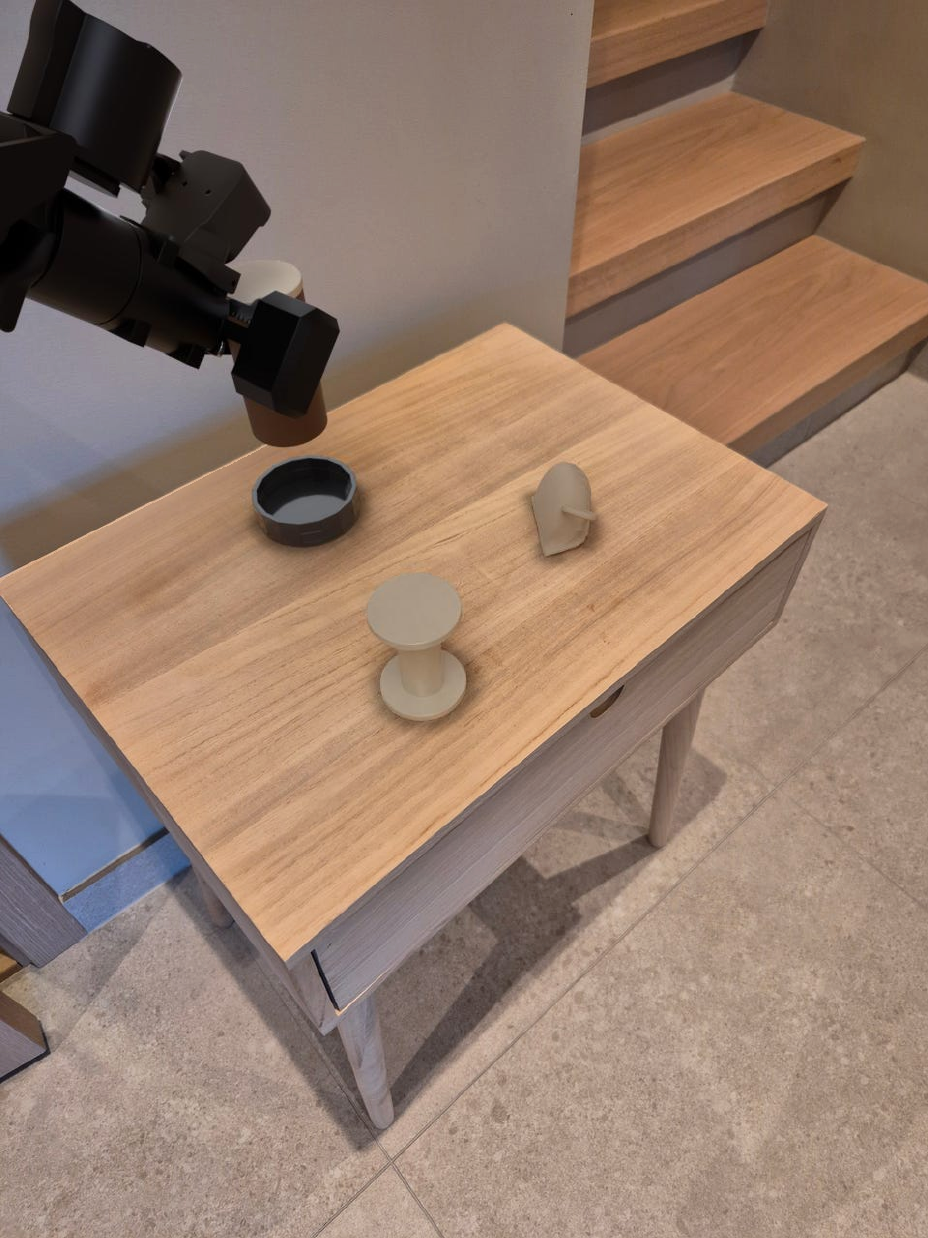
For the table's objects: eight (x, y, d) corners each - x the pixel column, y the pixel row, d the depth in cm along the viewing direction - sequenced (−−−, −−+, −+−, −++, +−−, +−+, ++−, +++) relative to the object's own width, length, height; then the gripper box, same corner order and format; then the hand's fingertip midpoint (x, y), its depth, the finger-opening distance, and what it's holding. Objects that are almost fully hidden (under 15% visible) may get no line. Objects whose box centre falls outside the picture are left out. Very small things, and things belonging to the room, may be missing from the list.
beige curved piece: (580, 493, 69) (585, 440, 65) (598, 567, 63) (605, 513, 59) (531, 497, 69) (532, 444, 65) (544, 571, 63) (547, 518, 59)
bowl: (316, 561, 65) (311, 538, 63) (238, 524, 68) (230, 500, 66) (380, 499, 69) (376, 476, 67) (303, 467, 72) (298, 443, 70)
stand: (435, 735, 54) (426, 659, 48) (363, 697, 56) (346, 619, 50) (482, 673, 57) (480, 594, 51) (413, 639, 59) (402, 559, 53)
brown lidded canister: (321, 448, 60) (292, 302, 51) (244, 448, 60) (202, 303, 52) (333, 401, 63) (308, 258, 55) (260, 401, 64) (224, 259, 55)
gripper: (281, 159, 40) (442, 286, 53) (52, 86, 47) (244, 213, 61) (197, 383, 42) (373, 449, 55) (-10, 277, 50) (189, 358, 63)
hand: (291, 359), depth 59 cm, fingers closed on brown lidded canister, 5 cm apart
